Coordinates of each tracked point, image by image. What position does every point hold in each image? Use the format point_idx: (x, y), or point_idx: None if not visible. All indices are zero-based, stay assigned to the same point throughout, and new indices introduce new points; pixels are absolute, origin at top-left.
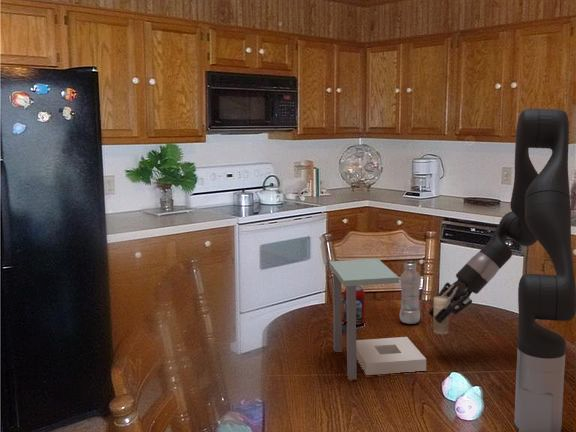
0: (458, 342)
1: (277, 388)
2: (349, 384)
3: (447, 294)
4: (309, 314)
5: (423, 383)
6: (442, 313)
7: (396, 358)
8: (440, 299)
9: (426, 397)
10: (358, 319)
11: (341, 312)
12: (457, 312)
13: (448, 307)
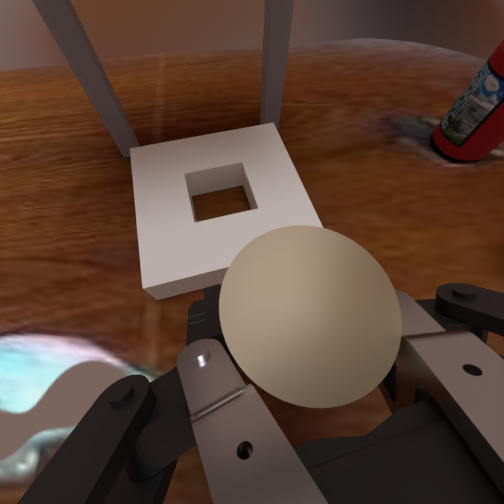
0: None
1: (111, 67)
2: (109, 148)
3: (439, 400)
4: (467, 75)
5: (86, 288)
6: (194, 327)
7: (154, 208)
8: (256, 287)
9: (4, 290)
10: (450, 137)
11: (271, 12)
12: (121, 481)
13: (144, 377)
